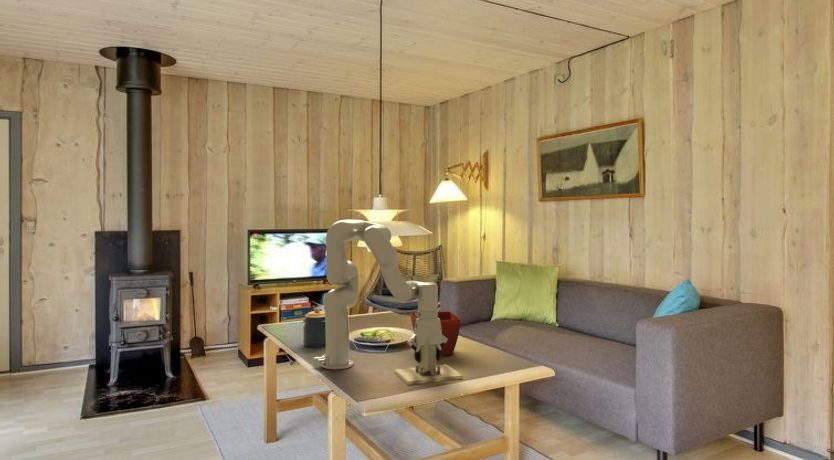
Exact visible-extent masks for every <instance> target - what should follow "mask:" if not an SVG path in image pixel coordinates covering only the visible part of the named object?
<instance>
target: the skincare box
mask: <svg viewBox="0 0 834 460" xmlns="http://www.w3.org/2000/svg"><path fill="white" fill-rule="evenodd" d="M425 342H426V345H425V346H421V348H420V350H419V352H420V362H419V363H418V364H417V365H418V369H420V368H423V370H424V371H429V370H431V369H434V368H436V365H437V360H436V355H437V346H436V345H429V340H425Z"/></svg>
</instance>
